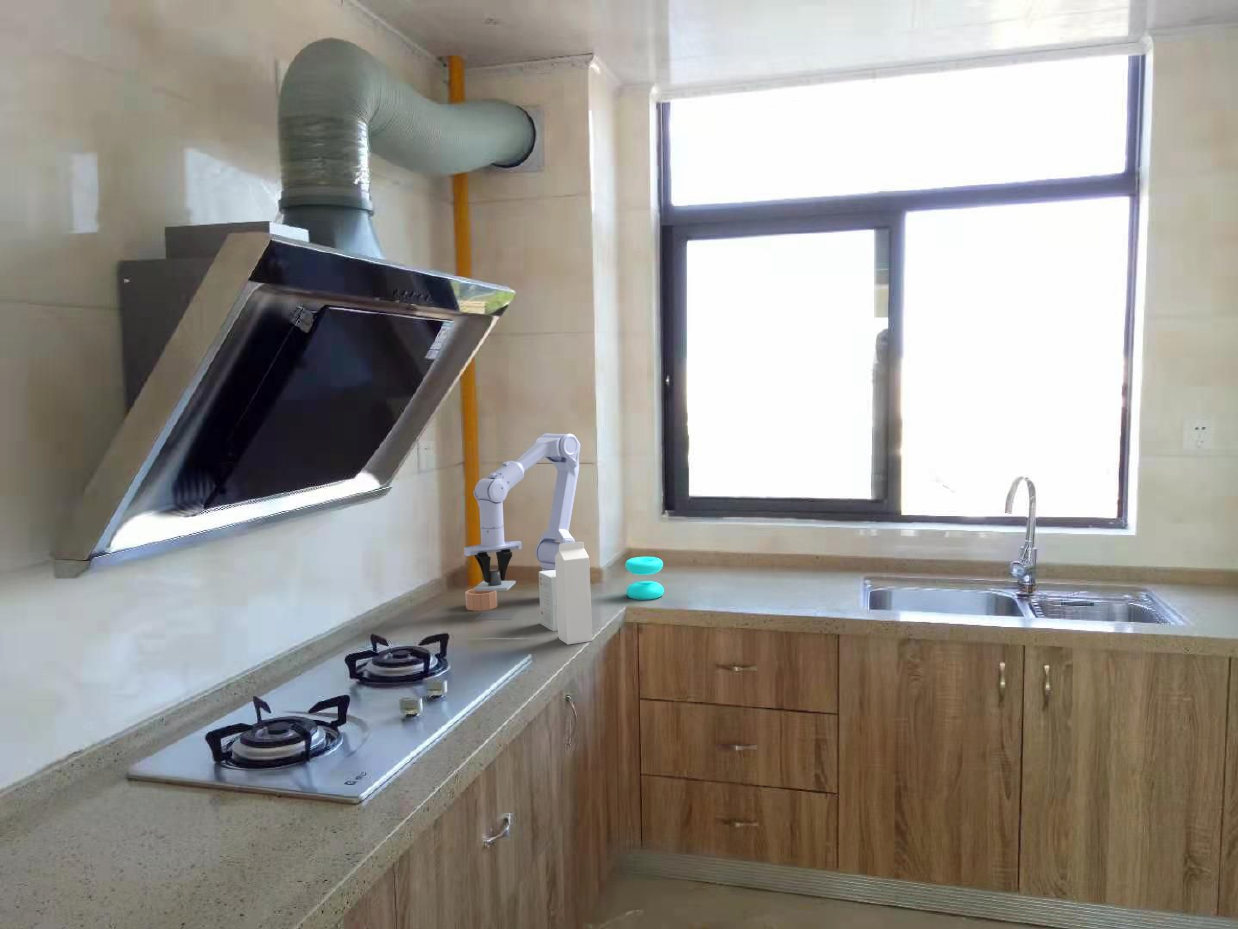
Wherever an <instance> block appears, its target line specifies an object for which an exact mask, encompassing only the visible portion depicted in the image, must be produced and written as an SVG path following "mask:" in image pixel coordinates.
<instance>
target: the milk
mask: <svg viewBox="0 0 1238 929" xmlns="http://www.w3.org/2000/svg"><path fill="white" fill-rule="evenodd" d="M555 569H556V593H557V618H558V630H557V633H558V634H557V637H558V640H560V641H562V642H563V643H564V644H566V645H574V644H580V643H581V644H582V643H588V642H593V622H592V621H593V620H592V619H593V618H592V600H591V599H592V597H591V571H590V569H591V568H590V556H589V554H588V553H587V550H586V549H585V542H584V541H575V542H572V543H563V544H559V551H558V553H557V554H556V555H555Z"/></svg>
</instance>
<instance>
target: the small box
mask: <svg viewBox="0 0 1238 929" xmlns="http://www.w3.org/2000/svg"><path fill="white" fill-rule="evenodd" d="M538 591H539V595H538V596H539V601H540V602H539V612H540V614H539V616H540V617H539V619H540V621H539V622H540V625H542V626H543V627H545V628H547V629H549V630H550V631H552V632H554V631H555V632H556V631H558V618H557V593H556V570H548V571H542V570H541V571H538Z"/></svg>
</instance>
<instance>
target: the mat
mask: <svg viewBox="0 0 1238 929" xmlns="http://www.w3.org/2000/svg"><path fill="white" fill-rule="evenodd" d="M519 612H520V610H483V612H481V614H479V615H478V616H477V617H475V619H474V620H476V621H477V620H478V621H503V620H504V621H510V620H512V619H513V618H514V617H515V616H516V615H517V614H518V613H519Z"/></svg>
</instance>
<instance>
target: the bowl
mask: <svg viewBox="0 0 1238 929" xmlns="http://www.w3.org/2000/svg"><path fill="white" fill-rule="evenodd" d="M464 598H465V609H466V610H468V611H473V612H475V611H477V612H478V611H479V612H481V611H491V610H492V609H493V610H494V609H495V608H497V607H498V591H474V588H471V589H467V590H466V591H465V597H464Z"/></svg>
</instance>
